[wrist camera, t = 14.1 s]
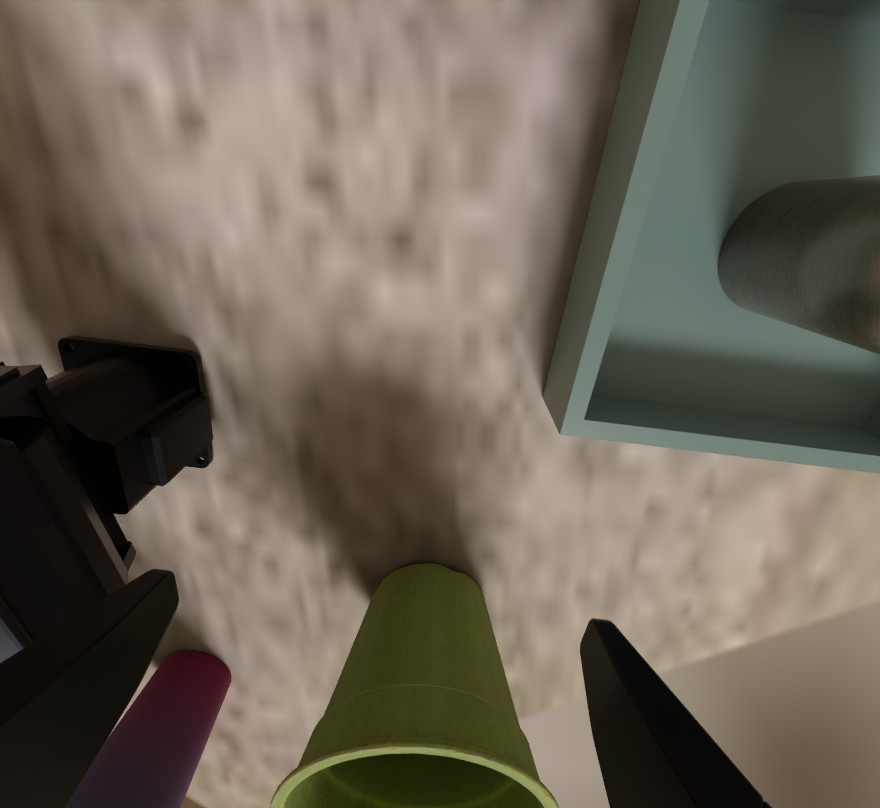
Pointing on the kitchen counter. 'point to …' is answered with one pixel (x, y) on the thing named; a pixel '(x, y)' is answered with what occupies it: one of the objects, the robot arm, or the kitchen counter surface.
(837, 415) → the tray
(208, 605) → the kitchen counter surface
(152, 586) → the robot arm
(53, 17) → the kitchen counter surface
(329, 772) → the plant pot
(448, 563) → the kitchen counter surface
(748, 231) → the canister
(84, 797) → the cup
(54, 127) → the kitchen counter surface
